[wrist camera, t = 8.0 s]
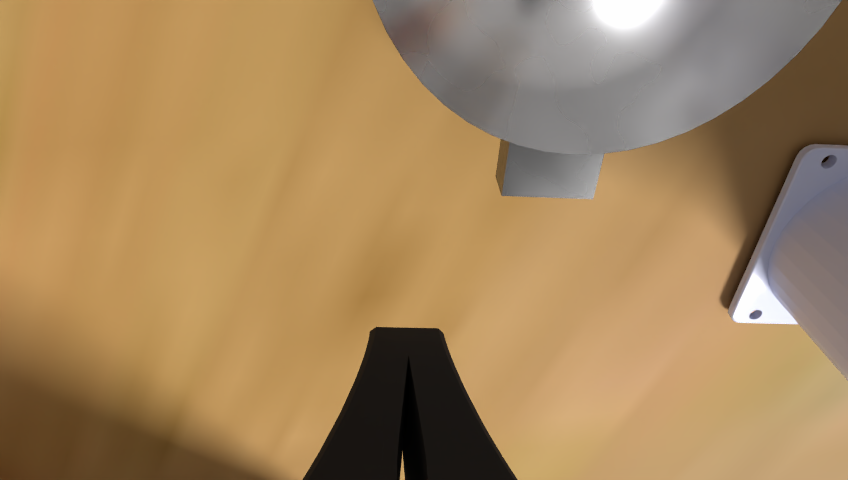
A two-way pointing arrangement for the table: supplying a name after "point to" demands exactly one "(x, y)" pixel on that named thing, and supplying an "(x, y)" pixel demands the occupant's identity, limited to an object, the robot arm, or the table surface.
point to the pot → (546, 173)
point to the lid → (597, 63)
